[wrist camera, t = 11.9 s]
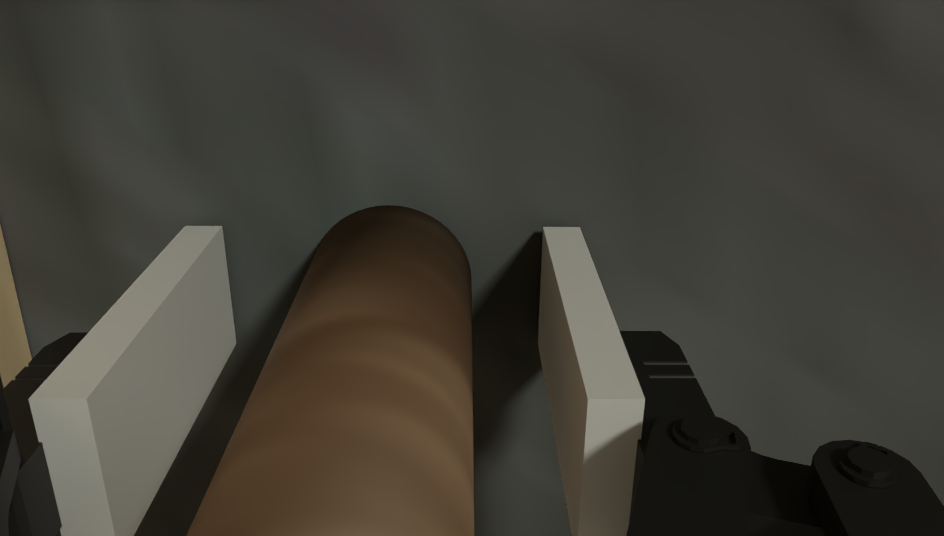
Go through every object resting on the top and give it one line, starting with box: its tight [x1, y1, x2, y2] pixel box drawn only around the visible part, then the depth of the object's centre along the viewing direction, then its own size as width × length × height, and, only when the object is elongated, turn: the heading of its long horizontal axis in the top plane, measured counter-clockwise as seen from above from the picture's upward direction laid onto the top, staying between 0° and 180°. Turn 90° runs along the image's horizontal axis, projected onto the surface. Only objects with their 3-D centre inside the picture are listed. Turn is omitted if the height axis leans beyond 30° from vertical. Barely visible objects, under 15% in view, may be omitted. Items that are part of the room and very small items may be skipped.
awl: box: [186, 205, 474, 536], centre depth 12 cm, size 3×3×12 cm
